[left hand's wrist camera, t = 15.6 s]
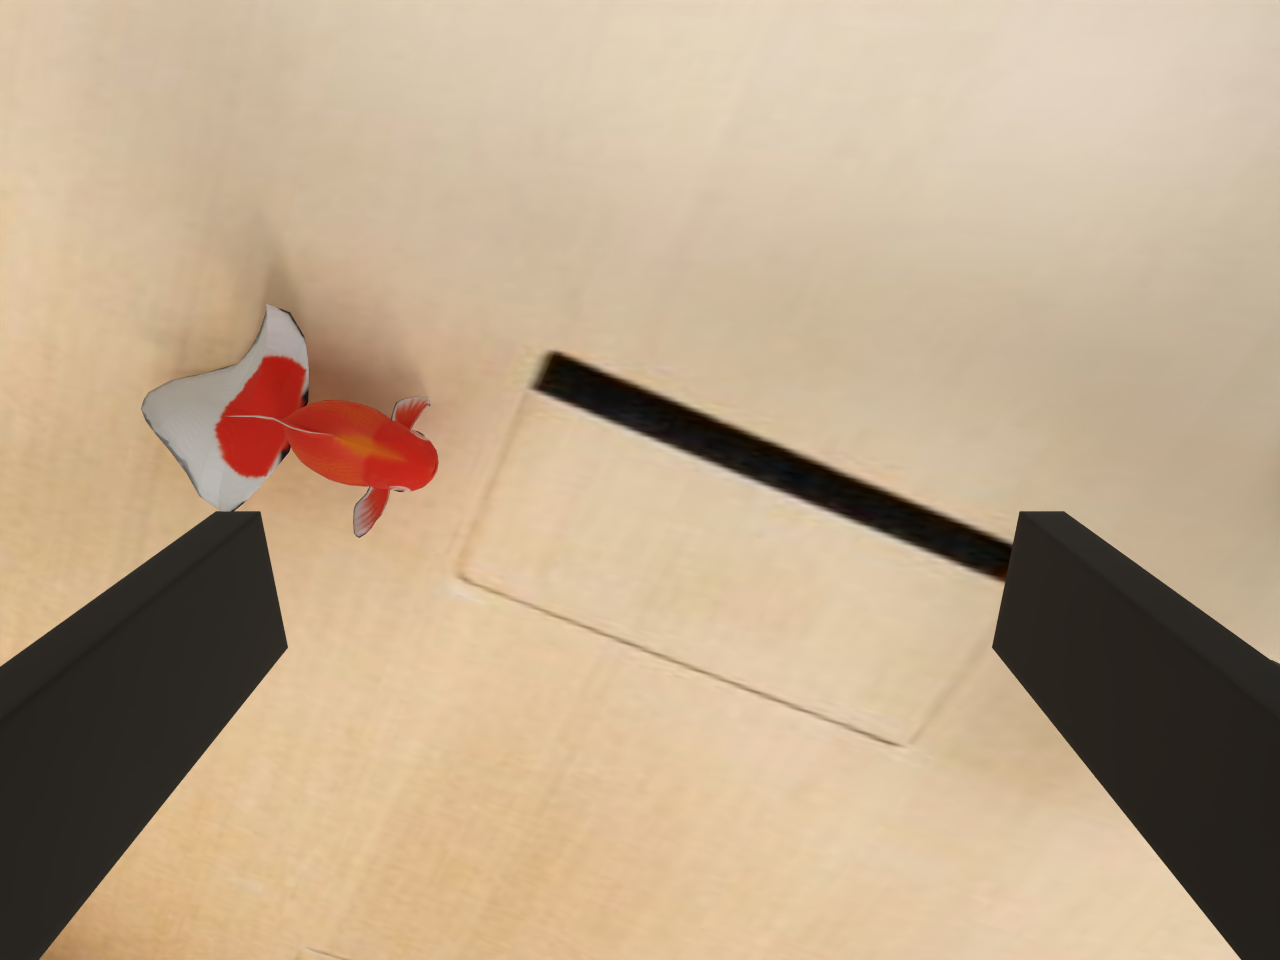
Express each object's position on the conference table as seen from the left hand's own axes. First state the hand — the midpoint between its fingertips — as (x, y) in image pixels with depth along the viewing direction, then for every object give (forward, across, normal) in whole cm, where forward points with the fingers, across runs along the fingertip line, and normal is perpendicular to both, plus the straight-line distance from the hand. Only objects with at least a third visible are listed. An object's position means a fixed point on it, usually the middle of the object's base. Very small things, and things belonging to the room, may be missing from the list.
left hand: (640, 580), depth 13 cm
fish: (+28, -18, -4) cm, 33 cm away
